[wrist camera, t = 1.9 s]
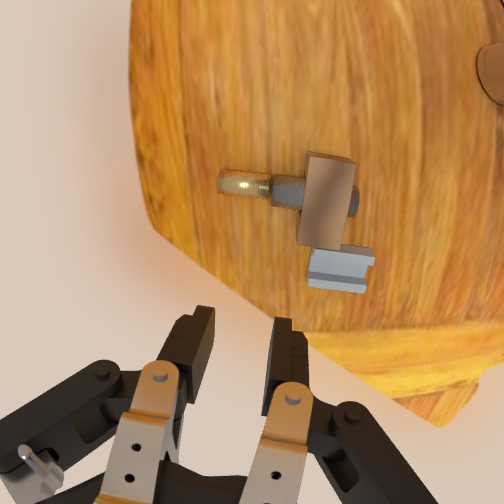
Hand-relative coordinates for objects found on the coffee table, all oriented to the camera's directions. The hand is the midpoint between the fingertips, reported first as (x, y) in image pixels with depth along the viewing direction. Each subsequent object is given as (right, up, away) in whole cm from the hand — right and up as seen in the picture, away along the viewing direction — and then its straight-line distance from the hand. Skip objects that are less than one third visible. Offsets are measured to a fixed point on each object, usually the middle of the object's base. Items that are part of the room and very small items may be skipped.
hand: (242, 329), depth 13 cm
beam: (+9, +10, +24) cm, 28 cm away
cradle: (+12, +2, +28) cm, 30 cm away
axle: (+8, +11, +24) cm, 28 cm away
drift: (0, +12, +25) cm, 28 cm away
